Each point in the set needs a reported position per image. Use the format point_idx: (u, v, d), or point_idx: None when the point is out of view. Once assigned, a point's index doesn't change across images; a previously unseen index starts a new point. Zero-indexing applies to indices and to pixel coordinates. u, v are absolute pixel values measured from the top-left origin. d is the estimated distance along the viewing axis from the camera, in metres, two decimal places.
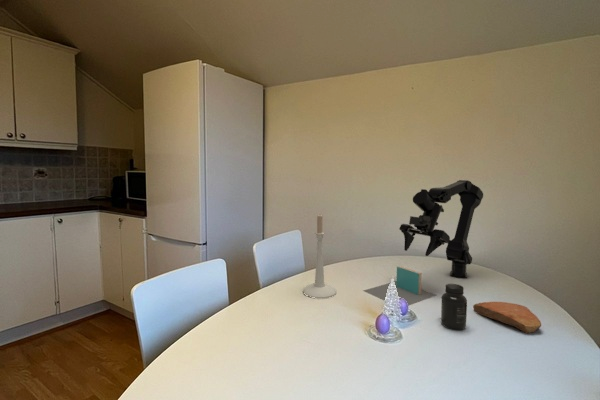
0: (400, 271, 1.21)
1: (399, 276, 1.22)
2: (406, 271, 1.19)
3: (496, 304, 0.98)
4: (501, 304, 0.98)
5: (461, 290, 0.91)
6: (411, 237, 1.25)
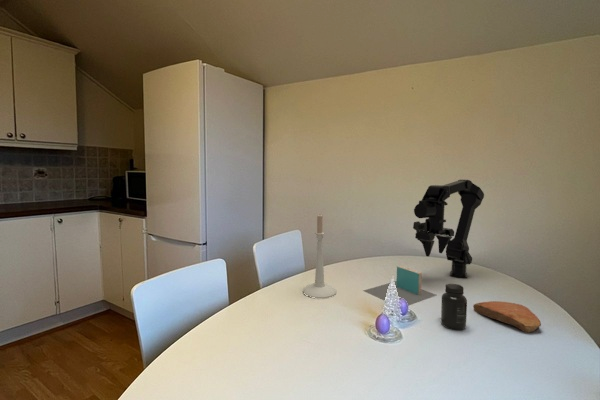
0: (400, 271, 1.21)
1: (399, 276, 1.22)
2: (406, 271, 1.19)
3: (496, 304, 0.99)
4: (501, 304, 0.99)
5: (461, 290, 0.91)
6: (444, 239, 1.29)
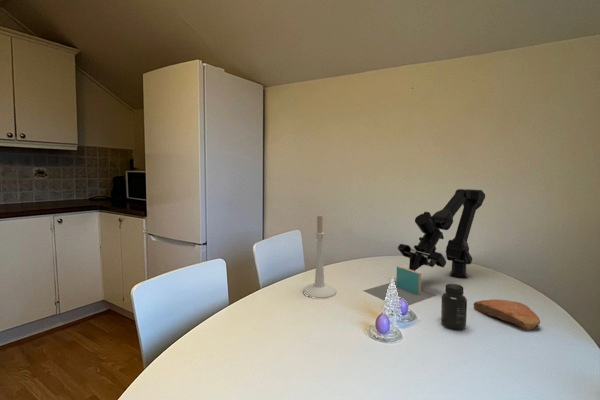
0: (400, 271, 1.21)
1: (399, 276, 1.22)
2: (406, 271, 1.19)
3: (496, 302, 1.00)
4: (501, 302, 1.00)
5: (461, 290, 0.91)
6: None
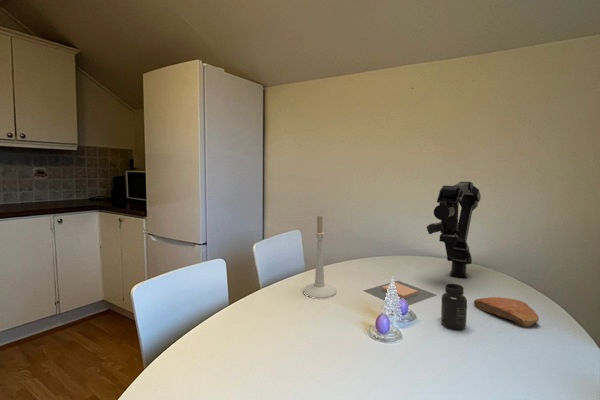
0: None
1: None
2: None
3: (496, 299, 1.02)
4: (500, 299, 1.02)
5: (461, 290, 0.91)
6: None
